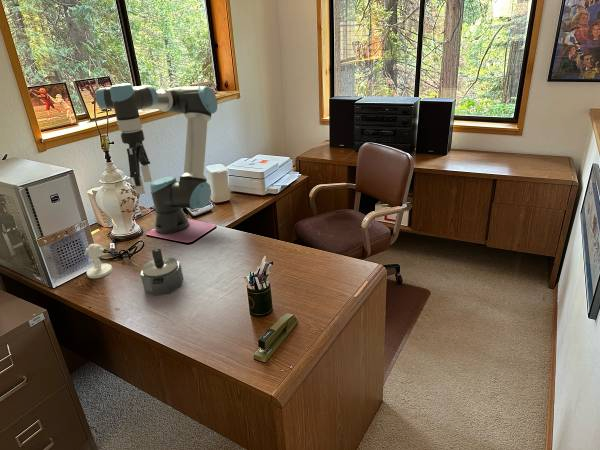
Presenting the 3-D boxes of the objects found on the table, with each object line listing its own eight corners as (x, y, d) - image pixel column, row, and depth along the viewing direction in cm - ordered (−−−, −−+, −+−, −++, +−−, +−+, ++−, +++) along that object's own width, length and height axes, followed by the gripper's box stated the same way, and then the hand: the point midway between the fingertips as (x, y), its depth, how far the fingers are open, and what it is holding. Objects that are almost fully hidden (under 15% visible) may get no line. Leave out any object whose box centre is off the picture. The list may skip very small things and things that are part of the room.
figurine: (82, 275, 165) (72, 248, 160) (101, 264, 172) (93, 237, 167) (98, 280, 161) (89, 252, 156) (117, 268, 168) (109, 241, 163)
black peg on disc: (146, 261, 157) (142, 244, 154) (179, 257, 158) (175, 240, 155) (139, 279, 146) (134, 261, 143) (175, 274, 147) (171, 256, 144)
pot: (150, 275, 161) (146, 259, 158) (184, 271, 162) (181, 255, 159) (141, 299, 147) (137, 282, 144) (180, 294, 148) (176, 277, 145)
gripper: (128, 124, 161) (141, 178, 170) (110, 139, 139) (126, 200, 148) (148, 122, 162) (160, 176, 171) (134, 137, 139) (148, 198, 148)
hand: (144, 187), depth 159 cm, fingers open, 13 cm apart
